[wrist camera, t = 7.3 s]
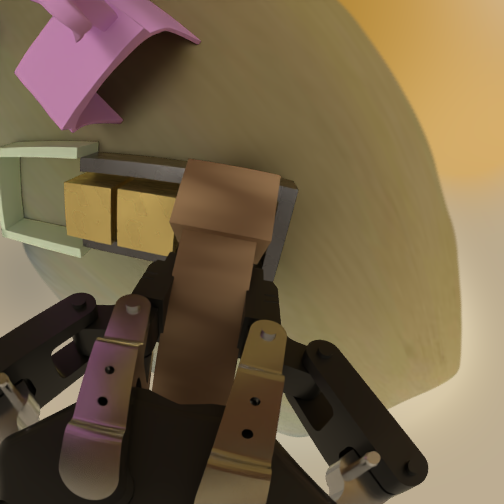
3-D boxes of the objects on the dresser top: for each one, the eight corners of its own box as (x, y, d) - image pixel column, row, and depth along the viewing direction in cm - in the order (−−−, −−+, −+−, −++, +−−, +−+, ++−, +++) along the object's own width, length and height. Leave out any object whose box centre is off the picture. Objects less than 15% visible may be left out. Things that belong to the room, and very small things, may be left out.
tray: (20, 224, 20) (2, 236, 18) (15, 142, 16) (-6, 148, 14) (98, 241, 21) (81, 257, 18) (98, 141, 17) (77, 147, 14)
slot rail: (97, 233, 21) (83, 246, 18) (98, 151, 17) (80, 157, 15) (271, 266, 22) (272, 283, 20) (293, 181, 19) (298, 189, 16)
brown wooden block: (194, 199, 15) (157, 381, 12) (188, 158, 11) (134, 401, 8) (265, 212, 15) (235, 396, 12) (280, 175, 11) (241, 423, 9)
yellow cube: (92, 215, 20) (67, 235, 17) (93, 169, 18) (64, 182, 15) (133, 222, 20) (111, 245, 17) (135, 174, 19) (110, 188, 15)
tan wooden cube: (138, 223, 20) (117, 245, 17) (141, 174, 19) (117, 188, 15) (185, 232, 21) (171, 257, 17) (192, 182, 19) (177, 198, 15)
